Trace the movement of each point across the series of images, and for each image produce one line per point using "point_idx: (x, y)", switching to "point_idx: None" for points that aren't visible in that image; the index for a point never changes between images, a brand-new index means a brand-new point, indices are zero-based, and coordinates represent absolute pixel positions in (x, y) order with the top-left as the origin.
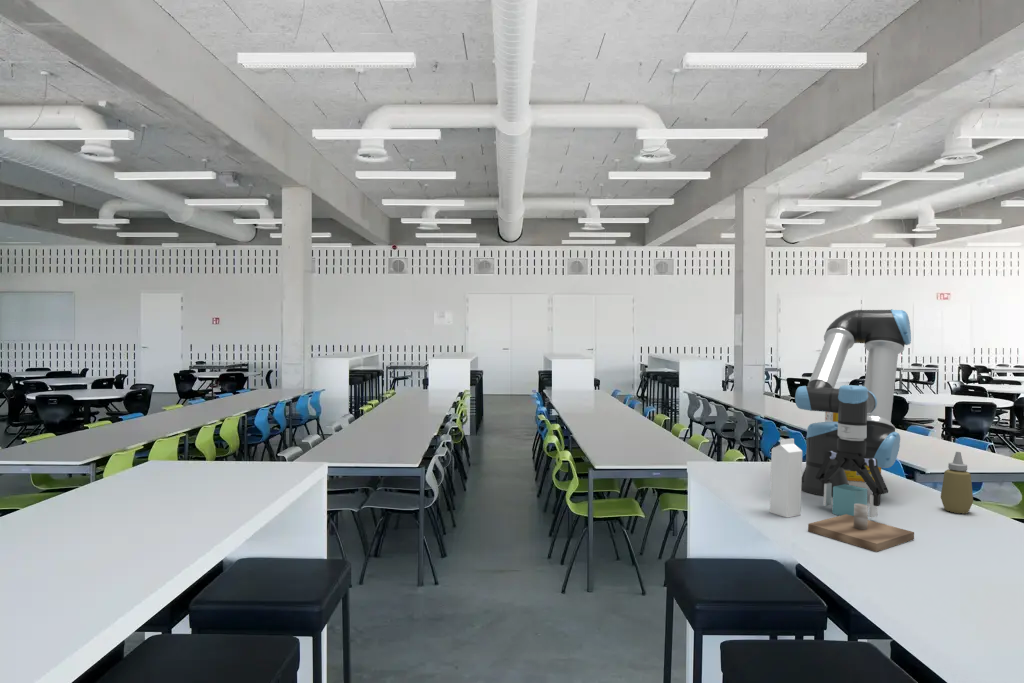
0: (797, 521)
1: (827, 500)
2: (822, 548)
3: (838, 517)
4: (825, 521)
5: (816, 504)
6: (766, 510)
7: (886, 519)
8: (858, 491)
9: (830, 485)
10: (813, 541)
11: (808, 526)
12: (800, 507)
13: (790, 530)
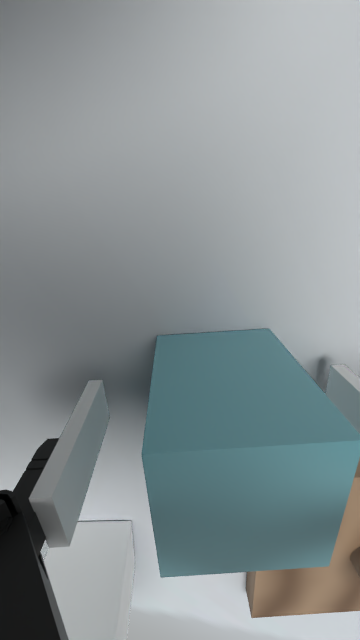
0: None
1: (101, 426)
2: (329, 626)
3: None
4: (268, 581)
5: (21, 363)
6: None
7: (353, 289)
8: (334, 533)
9: (63, 491)
10: (295, 616)
11: (250, 606)
12: (127, 556)
13: (218, 608)
